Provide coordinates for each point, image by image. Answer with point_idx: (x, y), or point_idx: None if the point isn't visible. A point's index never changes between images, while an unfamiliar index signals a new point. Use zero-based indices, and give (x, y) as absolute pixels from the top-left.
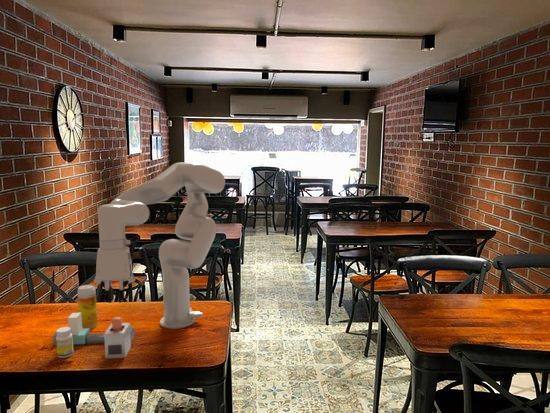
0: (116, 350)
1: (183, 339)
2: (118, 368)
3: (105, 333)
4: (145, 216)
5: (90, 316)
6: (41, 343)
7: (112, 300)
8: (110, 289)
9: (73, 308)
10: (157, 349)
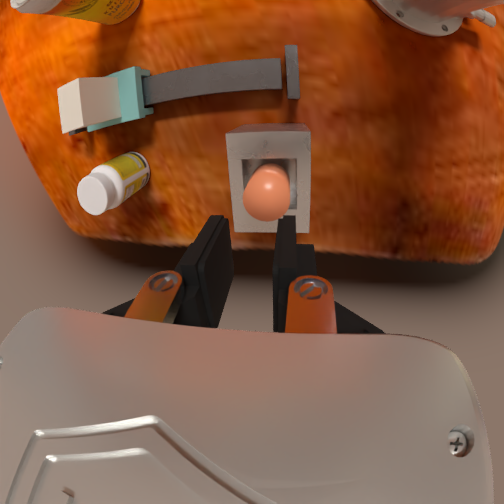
0: None
1: (451, 113)
2: None
3: (237, 227)
4: None
5: (111, 8)
6: None
7: (230, 245)
8: (206, 323)
9: None
10: (389, 161)
